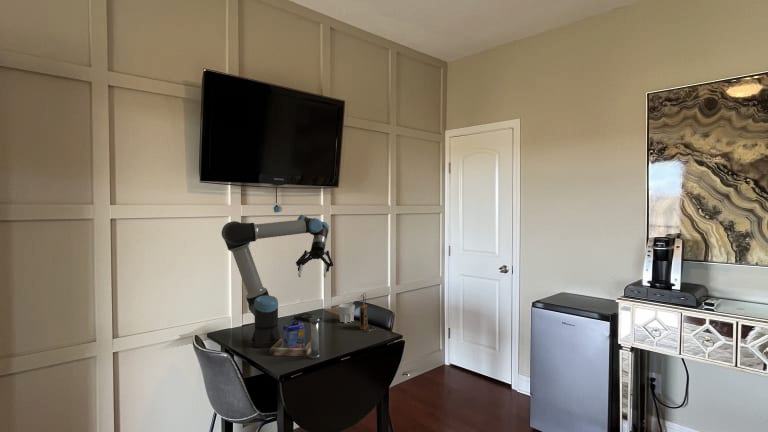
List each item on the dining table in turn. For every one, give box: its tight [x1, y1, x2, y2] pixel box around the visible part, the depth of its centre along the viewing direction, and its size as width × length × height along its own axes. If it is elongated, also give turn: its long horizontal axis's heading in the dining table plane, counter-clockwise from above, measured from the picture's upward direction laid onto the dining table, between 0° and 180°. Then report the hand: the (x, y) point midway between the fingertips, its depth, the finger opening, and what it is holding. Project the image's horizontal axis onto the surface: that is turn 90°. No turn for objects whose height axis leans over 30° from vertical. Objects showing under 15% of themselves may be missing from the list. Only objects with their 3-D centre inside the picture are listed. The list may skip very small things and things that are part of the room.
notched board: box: [269, 337, 311, 357], centre depth 201 cm, size 18×16×3 cm
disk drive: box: [293, 312, 323, 323], centre depth 258 cm, size 10×3×15 cm
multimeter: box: [359, 292, 378, 333], centre depth 237 cm, size 15×10×20 cm
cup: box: [337, 303, 356, 324], centre depth 253 cm, size 10×10×10 cm
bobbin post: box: [308, 317, 321, 360], centre depth 191 cm, size 5×5×18 cm
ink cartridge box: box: [282, 320, 306, 348], centre depth 202 cm, size 10×6×14 cm, turn 134°
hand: (311, 276), depth 217 cm, fingers open, 13 cm apart
